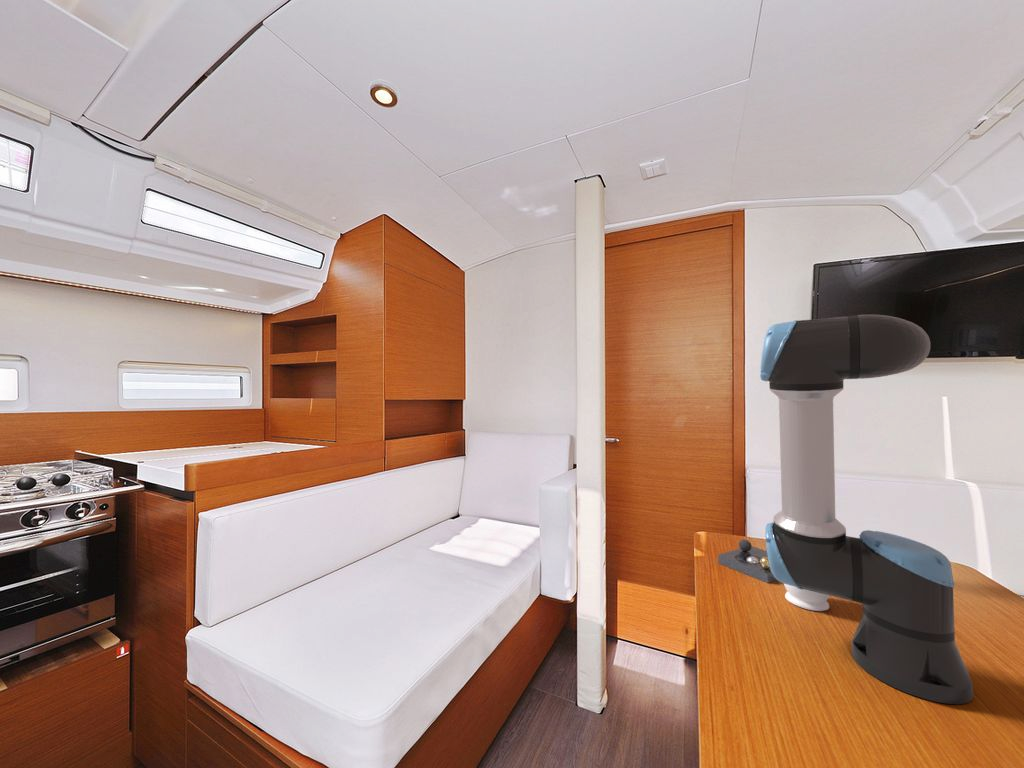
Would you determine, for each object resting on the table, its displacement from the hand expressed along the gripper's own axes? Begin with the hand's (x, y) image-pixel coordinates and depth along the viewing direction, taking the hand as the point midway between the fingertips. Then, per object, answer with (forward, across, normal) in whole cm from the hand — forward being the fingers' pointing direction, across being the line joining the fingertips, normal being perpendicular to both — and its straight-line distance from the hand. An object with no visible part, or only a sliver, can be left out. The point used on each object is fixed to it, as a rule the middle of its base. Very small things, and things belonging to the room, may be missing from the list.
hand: (811, 477), depth 113 cm
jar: (+27, -23, -9) cm, 36 cm away
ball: (+25, -16, +8) cm, 30 cm away
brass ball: (+22, -18, +3) cm, 29 cm away
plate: (+26, -13, +8) cm, 31 cm away
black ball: (+22, -11, +13) cm, 28 cm away
